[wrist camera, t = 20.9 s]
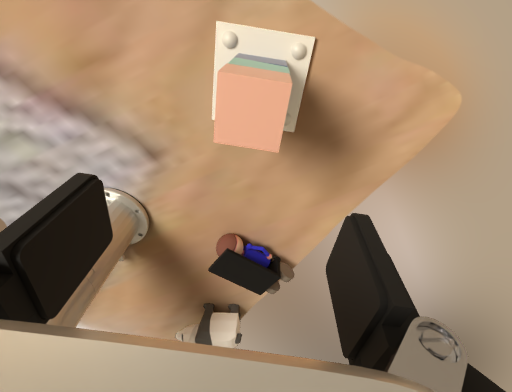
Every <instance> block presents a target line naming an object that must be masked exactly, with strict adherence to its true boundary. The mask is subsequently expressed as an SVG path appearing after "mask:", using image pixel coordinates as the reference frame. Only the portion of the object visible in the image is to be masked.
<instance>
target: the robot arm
mask: <svg viewBox="0 0 512 392" xmlns="http://www.w3.org/2000/svg"><path fill="white" fill-rule="evenodd" d="M148 229H149V218H148V215H147V213H146V211H145V209H144V208H143V207H142V205H141V204H140V203H139V202H138V201H137V200H135V199H134V198H133V197H131V196H130V195H128V194H126V193H124V192H122V191H119V190H116V189H112V188H104V187H103V183H102V181H101V180H99V179H98V177H97V176H96V175H91V174H84V173H77V174H76V175H74V176H73V177H72V178H70V179H69V180H68V181H66V182H65V183H64V184H63V185H61V186H60V187H59V188H57V189H56V190H55V191H53V192H52V193H51V194H50V195H48V196H47V197H46V198H44V199H43V200H42V201H40V202H39V203H38V204H37V205H35V206H34V207H33V208H31V209H30V210H29V211H27V212H26V213H25V214H24V215H22V216H21V217H20V218H18V219H17V220H16V221H14V222H13V223H12V224H11V225H9V226H8V227H7V228H5V229H4V230H3V231H1V232H0V392H505V391H504V390H503V389H501V388H500V387H499V386H497V385H496V384H495V383H493V382H492V381H491V380H489V379H488V378H487V377H486V376H484V375H483V374H482V373H480V372H479V371H478V370H476V369H475V368H473V367H472V366H471V365H470V364H468V354H467V351H466V348H465V346H464V344H463V343H462V341H461V340H460V338H459V337H458V336H457V335H456V334H455V333H454V332H453V331H452V330H451V329H450V328H448V327H447V326H446V325H444V324H443V323H441V322H439V321H437V320H435V319H432V318H429V317H420V316H419V314H418V312H417V310H416V308H415V306H414V304H413V302H412V300H411V298H410V296H409V294H408V292H407V290H406V288H405V286H404V284H403V282H402V280H401V278H400V276H399V274H398V272H397V270H396V268H395V265H394V263H393V262H392V259H391V257H390V256H389V254H388V253H387V251H386V249H385V247H384V245H383V243H382V241H381V239H380V237H379V235H378V233H377V231H376V229H375V227H374V225H373V223H372V221H371V219H370V217H369V216H368V215H364V214H357V213H352V214H351V216H347V217H346V218H345V220H344V223H343V225H342V227H341V230H340V232H339V235H338V237H337V240H336V242H335V245H334V247H333V250H332V252H331V254H330V257H329V259H328V262H327V265H326V275H327V280H328V285H329V290H330V294H331V299H332V304H333V309H334V313H335V319H336V323H337V328H338V333H339V338H340V343H341V348H342V352H343V355H344V357H345V358H348V360H349V365H347V364H340V363H334V362H327V361H321V360H314V359H308V358H300V357H294V356H286V355H278V354H271V353H264V352H257V351H249V350H242V349H235V348H227V347H220V346H212V345H205V344H197V343H189V342H182V341H174V340H167V339H159V338H151V337H143V336H136V335H128V334H120V333H112V332H104V331H96V330H88V329H80V328H76V326H77V324H78V323H79V321H80V320H81V318H82V316H83V315H84V313H85V312H86V310H87V308H88V307H89V305H90V304H91V302H92V301H93V299H94V298H95V296H96V295H97V293H98V292H99V290H100V288H101V287H102V285H103V284H104V282H105V281H106V279H107V278H108V276H109V275H110V273H111V272H112V270H113V269H114V267H115V265H116V264H117V262H118V261H123V260H124V259H125V254H124V252H125V250H126V249H127V247H128V246H129V245H130V244H134V243H137V242H139V241H140V240H142V239H143V238H144V236H145V235H146V233H147V231H148Z"/></svg>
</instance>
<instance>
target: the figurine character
mask: <svg viewBox="0 0 512 392" xmlns="http://www.w3.org/2000/svg"><path fill="white" fill-rule="evenodd" d="M257 250H261V251H262V252H263V253H264V254H263V253H261V252H259V251H257ZM216 251H217V254H218V256H219V258H218V259H217V260H216V261H215V262H214V263H213V264H212V265H211V266H210V268H209V270H208V271H209V272H211V273H214V274H216V275H218V276H220V277H222V278H224V279H226V280H229V281H231V282H233V283H235V284H237V285H239V286H242V287H244V288H246V289H248V290H250V291H252V292H254V293H257V294H259V295H262V294H263V293H264V292H265V291H267V292H268V293H270V294H274V293H276V291H278V290H279V289H280V285H279V282H278V280H279V279H281V280H283V281H285V282H289V281H290V280H291V279H292V278H293V277H294V272H293V270H292V269H291V267H290V266H289V265H287V264H286V263H283V262H281V263H280V261H281V259H280V258H279V257H276V256H274V255H272V254H269V253H268V252H267V251H266V249H265V248H264V247H261V246H253V245H252V244H250V243H249V244H247V246H243V242H242V240H241V238H240V237H239V236H237V235H235V234H226V235H224V236H222V237H221V238H220V239H219V240H218V242H217V246H216ZM272 258H273V259H274V260H273V261H272ZM271 261H272V262H271Z"/></svg>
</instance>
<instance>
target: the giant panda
mask: <svg viewBox="0 0 512 392" xmlns="http://www.w3.org/2000/svg"><path fill="white" fill-rule="evenodd" d="M203 307H204V308H205V312H204V315H203V317H202V320H201V322H200V324H194V325H188V326H187V327H185V328H184V329H183V330H181V331H179V332H177V333H176V335H175V337H176V339H178V340H180V341H182V342H189V343H197V344H205V345H212V346H220V347H227V348H235V347H236V346H237V345H238V343H240V341H241V336H242V334H241V333H240V313H239V305H236V304H230V305H229V306H228V307H229V309H230V310H231V312H230V313H213V311H214V305H213V304H204V306H203Z"/></svg>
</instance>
